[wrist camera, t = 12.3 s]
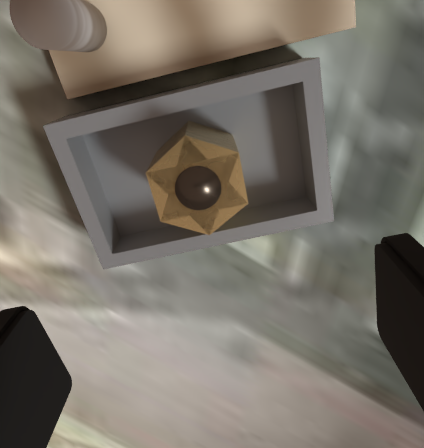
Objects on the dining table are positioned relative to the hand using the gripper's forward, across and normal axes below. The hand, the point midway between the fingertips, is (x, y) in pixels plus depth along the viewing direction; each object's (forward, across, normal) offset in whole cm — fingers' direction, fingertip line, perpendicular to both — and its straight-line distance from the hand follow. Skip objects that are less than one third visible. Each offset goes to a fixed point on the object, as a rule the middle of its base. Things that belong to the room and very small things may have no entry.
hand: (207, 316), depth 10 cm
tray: (+17, +1, 0) cm, 17 cm away
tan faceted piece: (+16, +1, 0) cm, 16 cm away
